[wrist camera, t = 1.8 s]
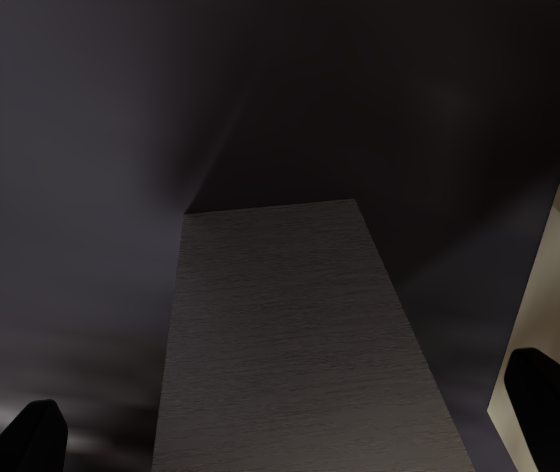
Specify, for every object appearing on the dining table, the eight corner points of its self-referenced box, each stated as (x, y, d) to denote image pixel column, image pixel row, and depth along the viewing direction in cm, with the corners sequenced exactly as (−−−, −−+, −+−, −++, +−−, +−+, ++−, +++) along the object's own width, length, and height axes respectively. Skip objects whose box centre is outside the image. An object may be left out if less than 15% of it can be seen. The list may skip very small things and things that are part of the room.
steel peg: (349, 321, 14) (535, 943, 6) (207, 335, 14) (181, 1006, 5) (354, 199, 11) (685, 947, 3) (184, 214, 11) (76, 1056, 3)
